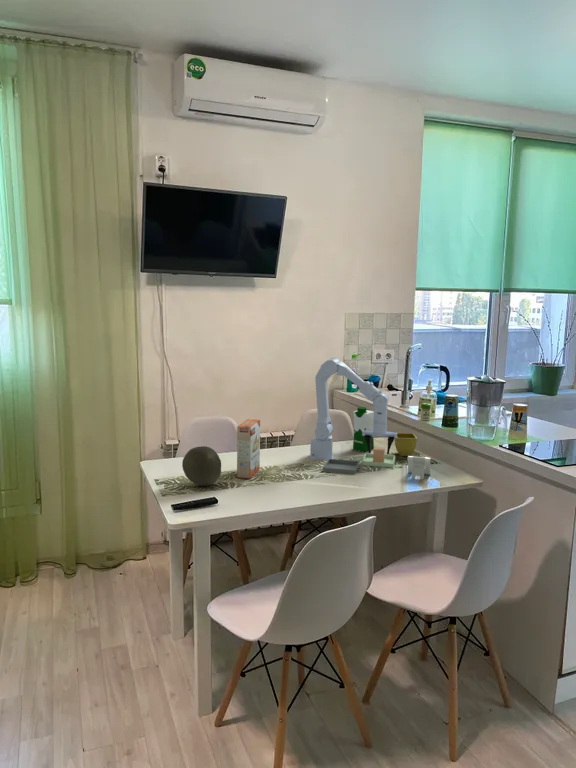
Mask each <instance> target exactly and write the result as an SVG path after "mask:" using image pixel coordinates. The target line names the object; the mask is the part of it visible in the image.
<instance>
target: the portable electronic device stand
mask: <svg viewBox="0 0 576 768" xmlns="http://www.w3.org/2000/svg"><path fill="white" fill-rule="evenodd" d="M407 473H408V474H411V479H413V478H414V479H413V480H416V477H417V476H418V477H419V479H420V480H424V479H425V474H426V476H427V475H429V476H431V457H427V456H426V457H422V456H412V455H411V456H407Z"/></svg>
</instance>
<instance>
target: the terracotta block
mask: <svg viewBox="0 0 576 768" xmlns="http://www.w3.org/2000/svg"><path fill="white" fill-rule="evenodd" d="M385 450H386V447H385V446H374V449H373V450H372V451H373V452H372V453H373V462H382V463H384V458H385V453H386V451H385Z"/></svg>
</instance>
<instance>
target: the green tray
mask: <svg viewBox="0 0 576 768" xmlns="http://www.w3.org/2000/svg"><path fill="white" fill-rule="evenodd" d="M395 463H396V454H387V453H386V454H385V458H384V463H382V462H373V452H371V453H369V452H364V455H363V458H362V460H361V466H369V467H370V466H371V467H378V468H379V467H381V468H382V467H383V468H391V469H392V470H393V469H394V467H395Z"/></svg>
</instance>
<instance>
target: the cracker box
mask: <svg viewBox="0 0 576 768" xmlns="http://www.w3.org/2000/svg"><path fill="white" fill-rule="evenodd" d="M236 429H237V430H236V434H237V435H236V442H237V443H236V455H237V456H236V478H237V479H238V478H239V479H247V480H248V479H251V478H252V477H253V476H254V475H255V474H256V473H257V472H258V471H259V470H260V468H261V467H260V463H261V460H260V456H261V452H260V451H261V450H260V449H261V448H260V447H261V419H252V418H248V419H245V420H244V421H243V422H241V423H240V424H239V425H237V427H236Z"/></svg>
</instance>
